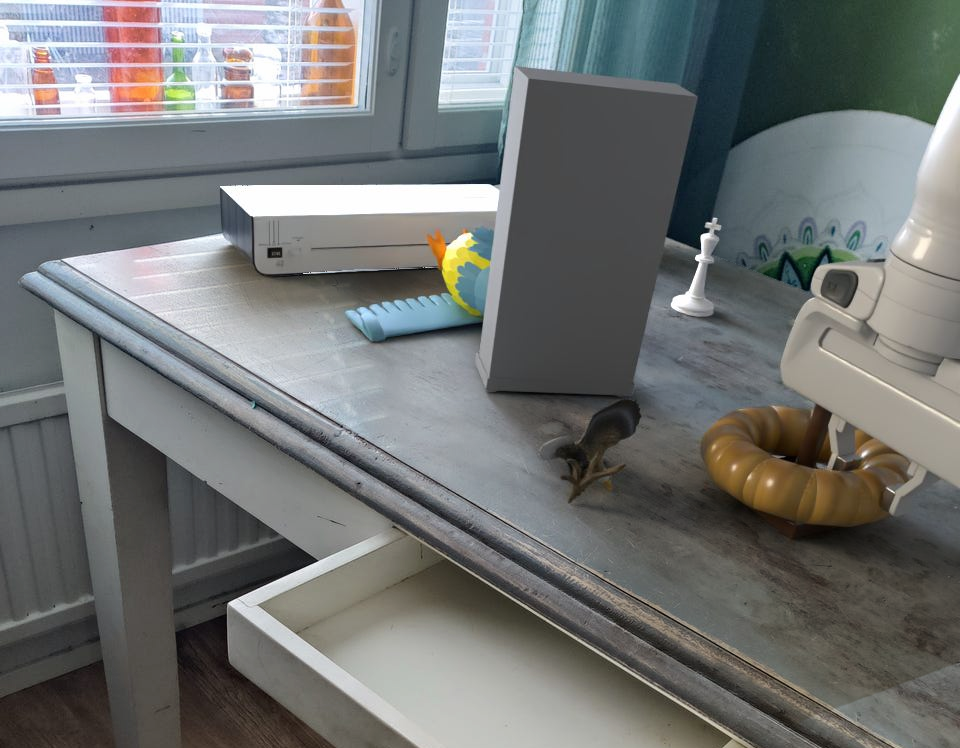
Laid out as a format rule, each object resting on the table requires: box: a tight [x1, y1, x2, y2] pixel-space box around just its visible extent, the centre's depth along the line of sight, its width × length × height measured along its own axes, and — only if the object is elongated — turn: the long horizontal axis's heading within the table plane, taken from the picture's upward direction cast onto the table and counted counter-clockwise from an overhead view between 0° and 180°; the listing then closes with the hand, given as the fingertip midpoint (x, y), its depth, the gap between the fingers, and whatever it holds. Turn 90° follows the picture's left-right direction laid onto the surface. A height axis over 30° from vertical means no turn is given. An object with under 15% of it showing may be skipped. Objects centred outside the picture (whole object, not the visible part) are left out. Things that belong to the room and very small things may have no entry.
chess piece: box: [670, 217, 722, 318], centre depth 110 cm, size 5×5×10 cm
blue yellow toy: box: [345, 227, 494, 342], centre depth 100 cm, size 28×9×15 cm
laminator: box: [219, 183, 500, 277], centre depth 113 cm, size 34×12×6 cm, turn 118°
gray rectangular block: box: [474, 65, 699, 398], centre depth 85 cm, size 14×6×25 cm, turn 100°
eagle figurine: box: [538, 397, 643, 504], centre depth 76 cm, size 8×7×9 cm
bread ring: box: [699, 405, 914, 528], centre depth 77 cm, size 16×16×4 cm
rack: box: [739, 403, 841, 540], centre depth 75 cm, size 9×9×15 cm
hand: (865, 493), depth 73 cm, fingers closed on bread ring, 4 cm apart
